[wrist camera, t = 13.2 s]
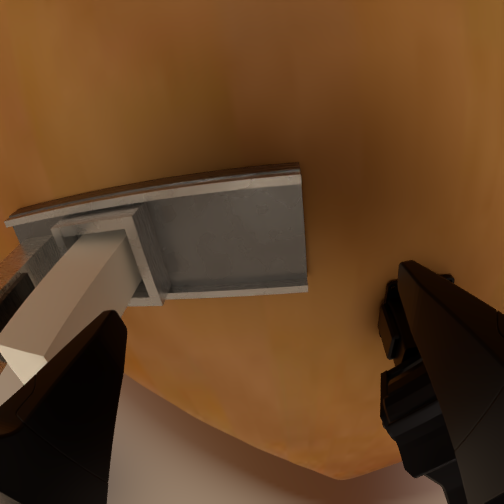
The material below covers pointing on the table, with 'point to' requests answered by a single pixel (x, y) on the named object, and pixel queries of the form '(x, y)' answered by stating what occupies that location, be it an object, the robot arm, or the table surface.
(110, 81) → the table surface
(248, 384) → the table surface
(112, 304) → the white angular block
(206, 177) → the rail
